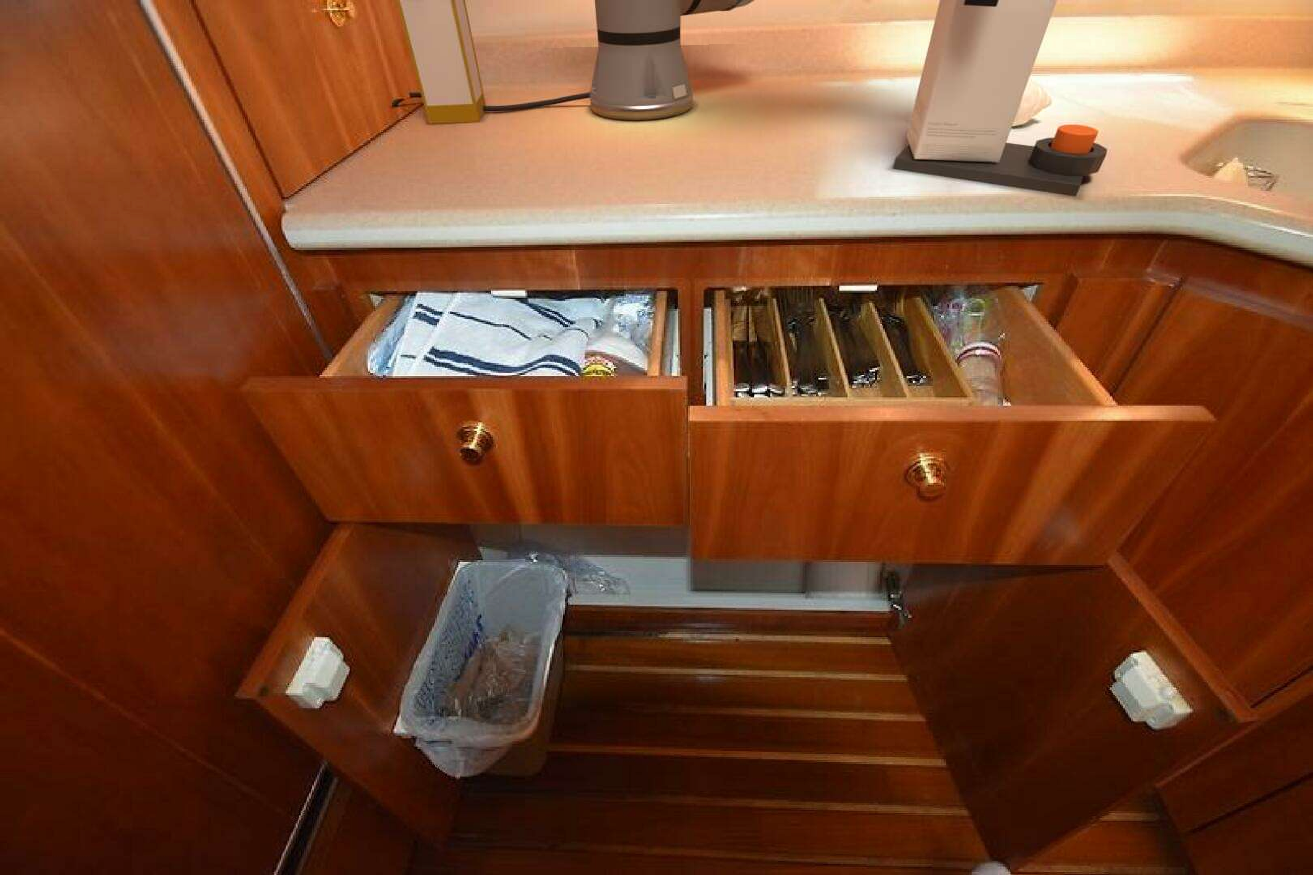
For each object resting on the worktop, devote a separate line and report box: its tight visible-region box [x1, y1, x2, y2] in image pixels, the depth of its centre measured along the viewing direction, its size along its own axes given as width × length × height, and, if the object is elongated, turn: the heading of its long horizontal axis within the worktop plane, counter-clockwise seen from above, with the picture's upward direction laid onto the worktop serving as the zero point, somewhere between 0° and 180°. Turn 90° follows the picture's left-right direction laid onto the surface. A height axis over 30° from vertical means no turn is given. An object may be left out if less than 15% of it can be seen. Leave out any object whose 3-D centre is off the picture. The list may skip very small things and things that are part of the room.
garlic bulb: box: [1012, 77, 1053, 127], centre depth 75 cm, size 6×6×5 cm
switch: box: [1050, 124, 1099, 154], centre depth 60 cm, size 4×4×2 cm
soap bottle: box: [395, 0, 487, 125], centre depth 77 cm, size 7×13×24 cm, turn 4°
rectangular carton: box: [906, 0, 1058, 163], centre depth 61 cm, size 9×9×15 cm
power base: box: [892, 137, 1108, 198], centre depth 64 cm, size 19×11×3 cm, turn 59°
